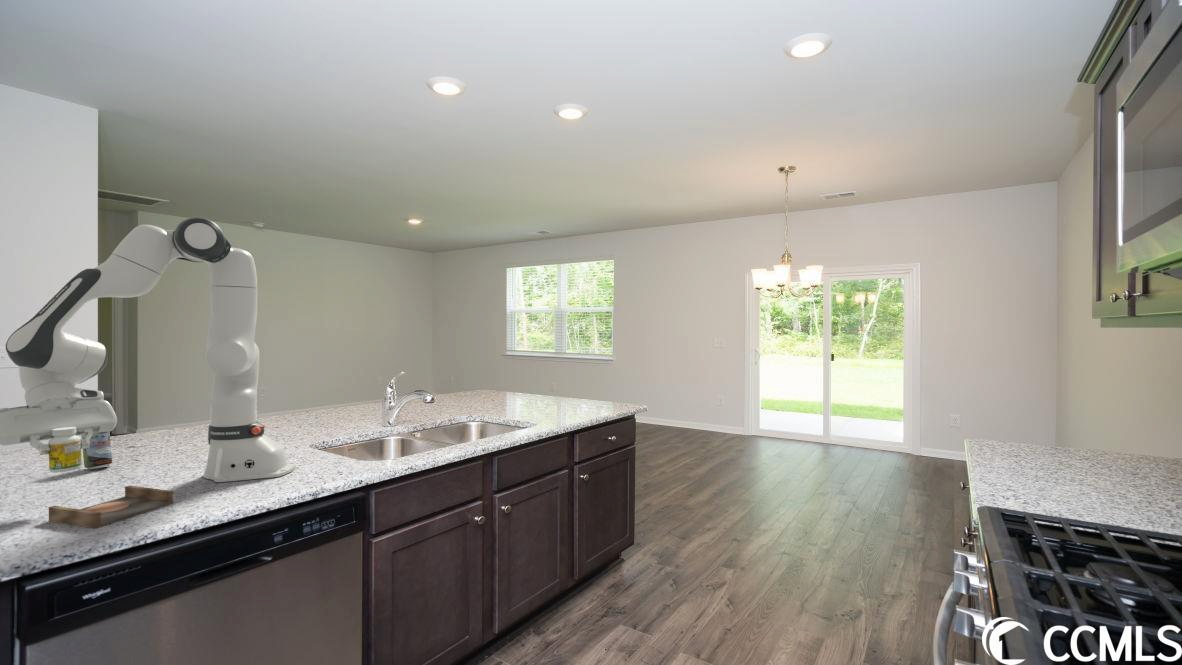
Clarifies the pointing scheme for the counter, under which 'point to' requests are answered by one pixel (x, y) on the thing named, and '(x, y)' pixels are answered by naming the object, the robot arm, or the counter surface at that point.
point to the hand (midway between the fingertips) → (65, 450)
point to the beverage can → (98, 451)
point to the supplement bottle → (64, 450)
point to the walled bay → (114, 508)
